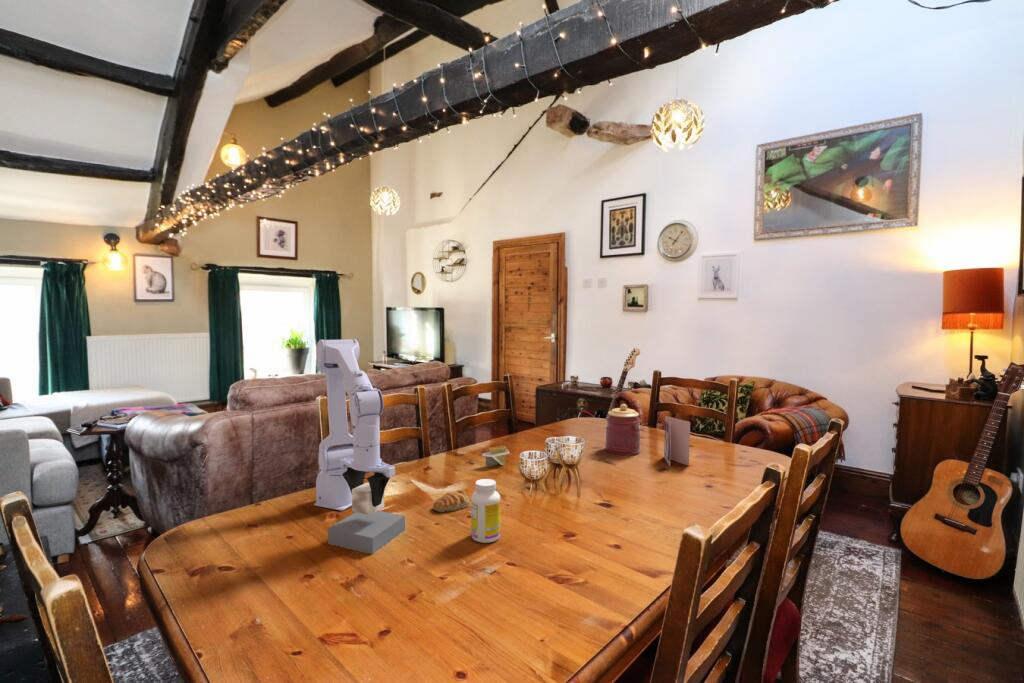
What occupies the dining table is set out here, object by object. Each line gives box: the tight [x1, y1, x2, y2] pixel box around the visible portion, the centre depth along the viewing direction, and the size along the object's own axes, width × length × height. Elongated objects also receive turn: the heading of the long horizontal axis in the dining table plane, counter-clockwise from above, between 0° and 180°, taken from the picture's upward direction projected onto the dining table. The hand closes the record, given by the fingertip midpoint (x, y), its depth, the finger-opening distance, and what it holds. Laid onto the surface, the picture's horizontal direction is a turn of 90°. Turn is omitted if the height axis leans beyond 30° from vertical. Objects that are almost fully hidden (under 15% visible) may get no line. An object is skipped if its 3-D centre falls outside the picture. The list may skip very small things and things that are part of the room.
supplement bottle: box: [470, 478, 501, 544], centre depth 109 cm, size 7×7×13 cm
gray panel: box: [327, 510, 406, 555], centre depth 109 cm, size 12×12×4 cm
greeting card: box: [663, 415, 691, 467], centre depth 165 cm, size 11×7×15 cm, turn 172°
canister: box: [604, 403, 642, 456], centre depth 179 cm, size 13×13×18 cm
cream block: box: [351, 482, 385, 515], centre depth 109 cm, size 5×5×5 cm
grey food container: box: [481, 445, 510, 468], centre depth 161 cm, size 12×18×7 cm, turn 127°
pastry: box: [432, 489, 470, 513], centre depth 127 cm, size 9×7×4 cm
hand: (367, 502), depth 109 cm, fingers closed on cream block, 5 cm apart
